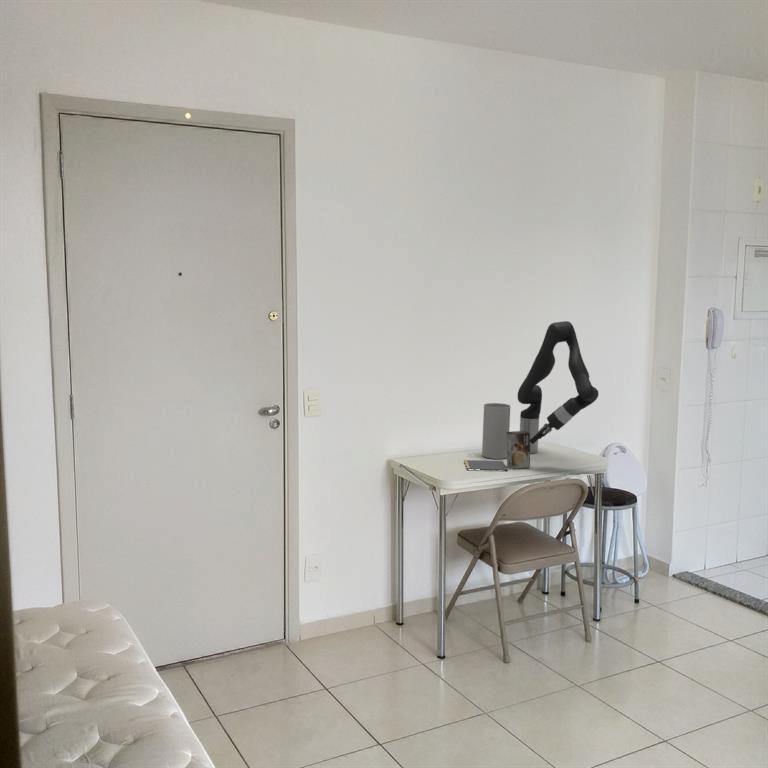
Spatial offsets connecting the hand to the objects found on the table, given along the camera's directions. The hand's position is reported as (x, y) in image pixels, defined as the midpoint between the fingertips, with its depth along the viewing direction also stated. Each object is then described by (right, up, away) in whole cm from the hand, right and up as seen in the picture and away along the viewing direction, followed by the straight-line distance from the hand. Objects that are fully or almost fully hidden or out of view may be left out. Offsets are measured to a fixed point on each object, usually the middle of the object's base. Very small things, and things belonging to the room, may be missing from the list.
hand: (531, 442), depth 357 cm
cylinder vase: (-13, -9, +23) cm, 28 cm away
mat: (-20, -11, +3) cm, 23 cm away
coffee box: (-5, -12, +3) cm, 13 cm away
